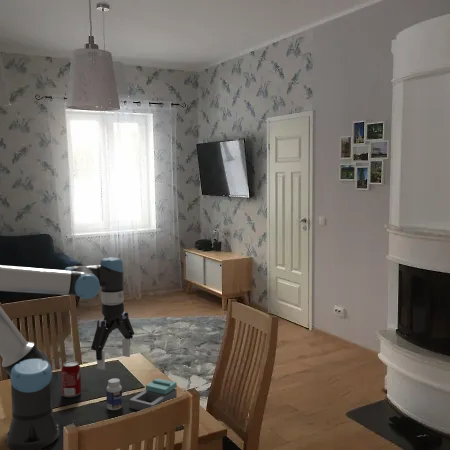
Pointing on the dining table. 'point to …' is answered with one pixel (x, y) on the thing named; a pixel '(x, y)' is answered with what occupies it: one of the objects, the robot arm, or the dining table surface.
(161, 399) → the socket block
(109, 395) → the pill bottle
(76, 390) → the soda can
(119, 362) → the dining table surface
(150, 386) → the teal ridged square block
